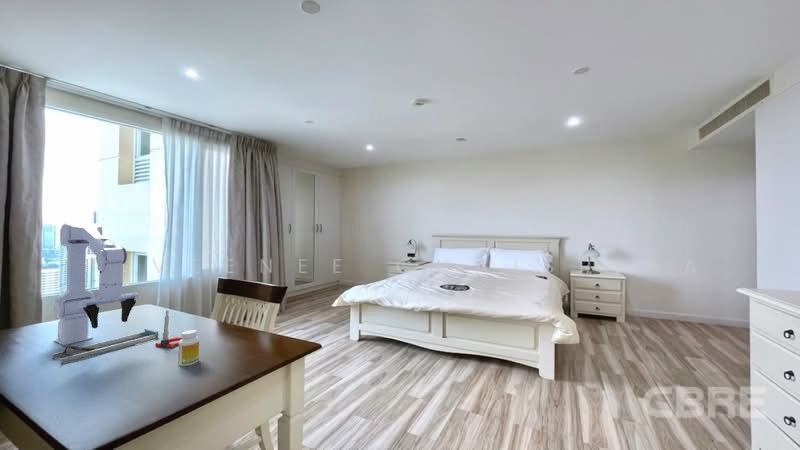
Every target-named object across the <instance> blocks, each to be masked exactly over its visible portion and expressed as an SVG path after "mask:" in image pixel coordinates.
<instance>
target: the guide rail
mask: <svg viewBox="0 0 800 450" xmlns="http://www.w3.org/2000/svg"><path fill="white" fill-rule="evenodd" d="M157 339H159V331H158V330H155V329H151V328H148V327H147V328H144V330H143V331H140V332H136V333H132V334H128V335H124V336H120V337H117V338H112V339H108V340H104V341H100V342H96V343H91V344H88V345H87V344H86V345H84V346H82V347H83V348H93V347H95V348H96V349H95V350H92V351H83V350H81V351H80V350H75V349H71V348H70V349H71V350H70V349H67V351H68V350H69V351H68V352H66V353H65V354H67V355H68V354H69V353H70V354H74V355H73V356H69V357H67V356H66V355H65V354H64V356H63V357H62V358H59V357H60V355H61V354H62V353H63V351H64V350H62V351H59V352H54V353H51V360H56V359H58V358H59V359H60V364H61V365H64V364H67V363H70V362H74V363H77V362H81V361H84V360H88V359H91V358H96V357H97V355H101V354H104V353H107V352H111V351H115V350H119V349H122V348H126V347H129V346H133V345H134V346H140V345H143V344H146V343H149V342H155V341H156V340H157Z"/></svg>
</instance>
